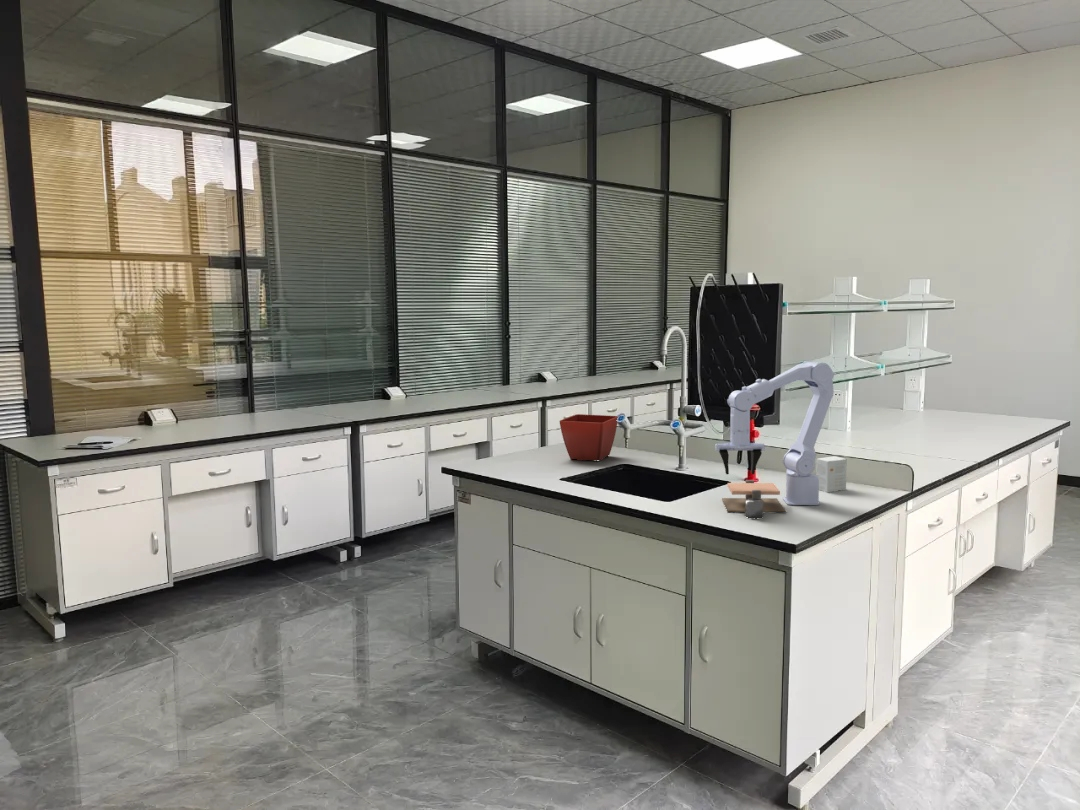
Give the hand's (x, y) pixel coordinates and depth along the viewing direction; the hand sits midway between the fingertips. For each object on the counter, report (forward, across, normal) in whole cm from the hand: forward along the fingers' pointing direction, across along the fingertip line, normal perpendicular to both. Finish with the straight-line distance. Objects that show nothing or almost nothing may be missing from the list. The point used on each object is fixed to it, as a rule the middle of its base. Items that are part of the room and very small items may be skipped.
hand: (739, 473), depth 235 cm
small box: (+10, +32, +22) cm, 41 cm away
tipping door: (+5, +4, 0) cm, 7 cm away
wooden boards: (+10, +4, 0) cm, 11 cm away
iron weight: (+10, +2, -12) cm, 16 cm away
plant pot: (+10, -50, +76) cm, 92 cm away
